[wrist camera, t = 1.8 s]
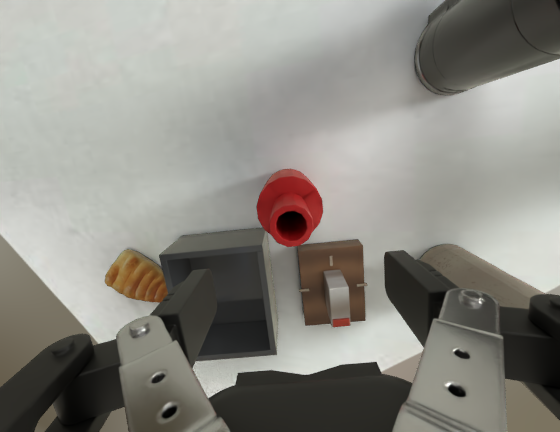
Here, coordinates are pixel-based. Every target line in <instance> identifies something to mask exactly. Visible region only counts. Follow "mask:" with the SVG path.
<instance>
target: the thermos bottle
mask: <svg viewBox="0 0 560 432" xmlns="http://www.w3.org/2000/svg"><path fill="white" fill-rule="evenodd" d="M420 261H423V262H425V263H428V264H430V265H431V266H432V267H433V268H435V269H436V271H439V272H440V273H441V274H442V275H443V276H445V277H446V278H448V279H449V280H450V281H451V282H453V283H454V284H455V285H457V286H458V287H459V288H469V289H474V290H478V291H482V292H485V293H487V294H489V295H491V296H493V297H494V298H495V299H496V300H497V301H498V302H499V305H500V306H503V307H513V308H525V309H529V302H530V298H531V297H532V296H534V295H538V294H545V293H543V292H541V291H539V290H538V289H536V288H534V287H532V286H530V285H528V284H527V283H525V282H523V281H521V280H519V279H517V278H515V277H513V276H511V275H509V274H507V273H506V272H504V271H502V270H500V269H499V268H497V267H495V266H494V265H492V264H490V263H488V262H486V261H485V260H483V259H481V258H479V257H477V256H475V255H474V254H472V253H470V252H468V251H466V250H465V249H463V248H461V247H459V246H456V245H452V244H443V245H438V246H435V247H433V248H431V249H430V250H428V251H427V252H426V253H425V254H424V255H423V256H422V257H421V259H420ZM520 382H521V383H522V384H523V385H524V386H525V387H526V388H527V389H528V390H529V391H530V392H531V393H532V394H533V395H534V396H535V397H536V398H537V399H538V400H539V401H540V402H541V400H540V399H539V398H538V397H537V396H536V395H535V394H534V393H533V392H532V391H531V390H530V389H529V388H528V387H527V386H526V385H525V384H524V382H523V381H520ZM541 403H542V402H541ZM542 404H543V403H542ZM543 405H544V404H543ZM544 406H545V405H544Z"/></svg>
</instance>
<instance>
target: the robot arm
mask: <svg viewBox="0 0 560 432" xmlns="http://www.w3.org/2000/svg"><path fill="white" fill-rule="evenodd" d="M557 59H560V0H445V1H444V2H443V3H442V4H441V5H440V6H439V7H438V8H437V9H436V10H434V11H433V12H432V13H431V14H430V15H429V22H428V26H427V27H426V28H425V30H424V31H423V33H422V34H421V36H420V38H419V41H418V44H417V47H416V51H415V67H416V71H417V74H418V76H419V78H420V80H421V82H422V83H423V84H424V85H425V86H426V87H427V88H428V89H429V90H431V91H433V92H435V93H437V94H441V95H454V94H458V93H461V92H464V91H467V90H469V89H472V88H474V87H477V86H480V85H483V84H486V83H489V82H492V81H495V80H498V79H501V78H504V77H507V76H510V75H513V74H515V73H518V72H521V71H524V70H527V69H530V68H533V67H536V66H539V65H542V64H545V63H548V62H551V61H554V60H557ZM384 270H385V289H386V293H387V296H388V298H389V299H390V301H391V302H392V304H393V305H394V306H395V308H396V309H397V311H398V312H399V313H400V315H401V316H402V318H403V319H404V320H405V322H406V323H407V325H408V326H409V327H410V329H411V330H412V332H413V333H414V334H415V336H416V337H417V339H418V340H419V341H420V343H421V344H422V346H423V347H424V349H423V352H422V356H421V359H420V362H419V365H418V368H417V371H416V374H415V378H414V380H413V383H411V382H409V381H406V380H404V379H401V378H398V377H395V376H390V375H385V374H381V371H380V369H379V367H378V365H377V362H371V363H358V364H345V365H339V366H336V367H333V368H330V369H326V370H323V371H320V372H317V373H313V374H310V375H301V374H294V373H287V372H280V371H273V370H269V371H257V372H244V373H238V375H237V380H236V385H234V386H231V387H229V388H226V389H224V390H222V391H220V392H218V393H216V394H215V395H213V396H211V397H210V398H207V396H206V394H205V392H204V390H203V388H202V386H201V384H200V383H199V381H198V379H197V377H196V375H195V373H194V371H193V369H192V368H193V365H194V363H195V361H196V358H197V356H198V354H199V351H200V349H201V347H202V344H203V342H204V340H205V337H206V335H207V333H208V330H209V328H210V326H211V323H212V321H213V319H214V316H215V314H216V311H217V298H216V293H215V288H214V282H213V277H212V272H211V270H210V269H201V270H193V271H192V272H191V273H190V274H189V276H188V277H187V278H186V280H185V281H184V282H181V283H179V284H178V285H176V286H175V287H173V288H172V289H171V290H170V292H169V293H168V294H167V296H165V298H164V299H163V301H162V302H160V304H159V305H158V306H157V307H156V309H155V310H154V311H153V312H152V313H151V315H150V316H146V317H142V318H139V319H136V320H134V321H132V322H130V323H128V324H127V325H125V326H124V327H123V328H122V329H121V330H120V331H119V332H118V333H117V336H116V339H115V340H111V341H108V342H104V343H101V344H97V345H94V346H93V344H92V341H91V338H90V336H89V335H87V334H77V335H72V336H69V337H66V338H64V339H61V340H59V341H57V342H55V343H53V344H52V345H50V346H48V347H47V348H45V349H44V350H43V351H42V352H41V353H39V354H38V355H37V356H36V357H35V358H34V359H32V360H31V361H30V362H29V363H28V364H27V365H26V366H25V367H23V368H22V369H21V370H20V371H19V372H18V373H16V374H15V375H14V376H13V377H12V378H11V379H9V380H8V381H7V382H6V383H5V384H4V385H3V386H1V387H0V432H34V430H35V427H36V425H37V423H38V421H39V419H40V418H41V416H42V415H43V414H44V413H45V412H46V411H47V409H48V408H49V407H50V406H51V405H52V404H53V406H54V408H55V411H56V413H57V417H56V418H55V420H54V421H53V422H52V423H51V425H50V426H49V427H48V428H47V429H46V431H45V432H99V431H100V429H101V428H102V426H103V425H104V423H105V421H106V420H107V418H108V416H109V414H110V413H111V411H114V410H116V409H119V408H122V407H125V412H126V418H127V424H128V431H129V432H507V421H506V396H505V379H511V380H517V381H523V382H524V384H525V385H526V386H527V387H528V388H529V389H530V390H531V391H532V392H533V393H534V394H535V395H536V396H537V397H538V398H539V399H540V400H541V402H542V403H543V404H544V405H545V406H546V407H547V408H548V409H549V410H550V411H551V412H552V413H553V414H554V415H555V416H556V417H557V418H558V419H559V420H560V296H559V295H552V294H538V295H534V296H532V297H531V298H530V302H529V309H525V308H513V307H503V306H500V305H499V302H498V301H497V300H496V299H495V298H494V297H493V296H491V295H489V294H487V293H485V292H482V291H478V290H474V289H469V288H459V287H458V286H457V285H455V284H454V283H453V282H451V281H450V280H449V279H448V278H446V277H445V276H443V275H442V274H441V273H440V272H439V271H436V269H435V268H433V267H432V266H431V265H430V264H428V263H425V262H423V261H420V260H415V259H414V258H413V257H411V256H410V255H409V254H408V253H406V252H405V251H404V250H400V251H390V252H386V253H385V255H384Z"/></svg>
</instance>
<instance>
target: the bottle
mask: <svg viewBox="0 0 560 432" xmlns="http://www.w3.org/2000/svg"><path fill="white" fill-rule="evenodd" d="M257 214H258V219H259V221H260V223H261V225H262V226H263V228H264V230H265V231H267V232H268V233H269V234H271V235H272V236H273V238H274V239H275V240H276V242H278V243H279V244H282V245H284V246H287V247H292V246H299V245H301V244H303V243H304V242H305V241H307V240H308V239H309V237H310V235H311V233H312V232H313V231H314V229H315V228H316V227H317V226H318V225H319V223H320V220H321V217H322V214H323V206H322V198H321V197H320V195H319V193H318V191H317V189H316V188H315V186H314V185H313V184H312V183H311V182H310V180H309V179H308V178H307V177H306V176H305V175H304V174H302V173H301V172H300V171H297V170H293V169H283V170H280V171H278V172H276V173H274V174H273V175H272V176H271V177H270V178H269V180H268V181H267V183H266V184H265V186H264V188H263V190H262V191H261V193H260V196H259V199H258V203H257Z"/></svg>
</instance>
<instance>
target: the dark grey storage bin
mask: <svg viewBox="0 0 560 432" xmlns="http://www.w3.org/2000/svg"><path fill="white" fill-rule="evenodd" d="M159 258H160V262H161V266H162V270H163V274H164V279H165V283H166V287H167V291H168V293H169V292H170V290H171V289H172V288H173V287H175V286H176V285H178V284H179V283H181V282H184V281H185V280H186V278H187V277H188V276H189V274H190V273H191V272H192V271H193V270H201V269H210V270H211V272H212V277H213V282H214V288H215V293H216V298H217V311H216V314H215V316H214V319H213V321H212V323H211V326H210V328H209V330H208V333H207V335H206V337H205V340H204V342H203V344H202V347H201V349H200V351H199V354H198V356H197V358H196V361H205V360H217V359H230V358H242V357H255V356H267V355H277V338H278V314H277V306H276V299H275V291H274V283H273V275H272V267H271V259H270V252H269V244H268V236H267V231H265V230H264V228H263V227H262V228H252V229H242V230H233V231H223V232H213V233H203V234H193V235H183V236H181V237H180V238H179V239H178V240H176V241H175V242H174V243H173V244H172V245H170V246H169V247H168V248H167V249H166V250H164V251H163V252H162V253H161V254H160V255H159Z"/></svg>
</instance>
